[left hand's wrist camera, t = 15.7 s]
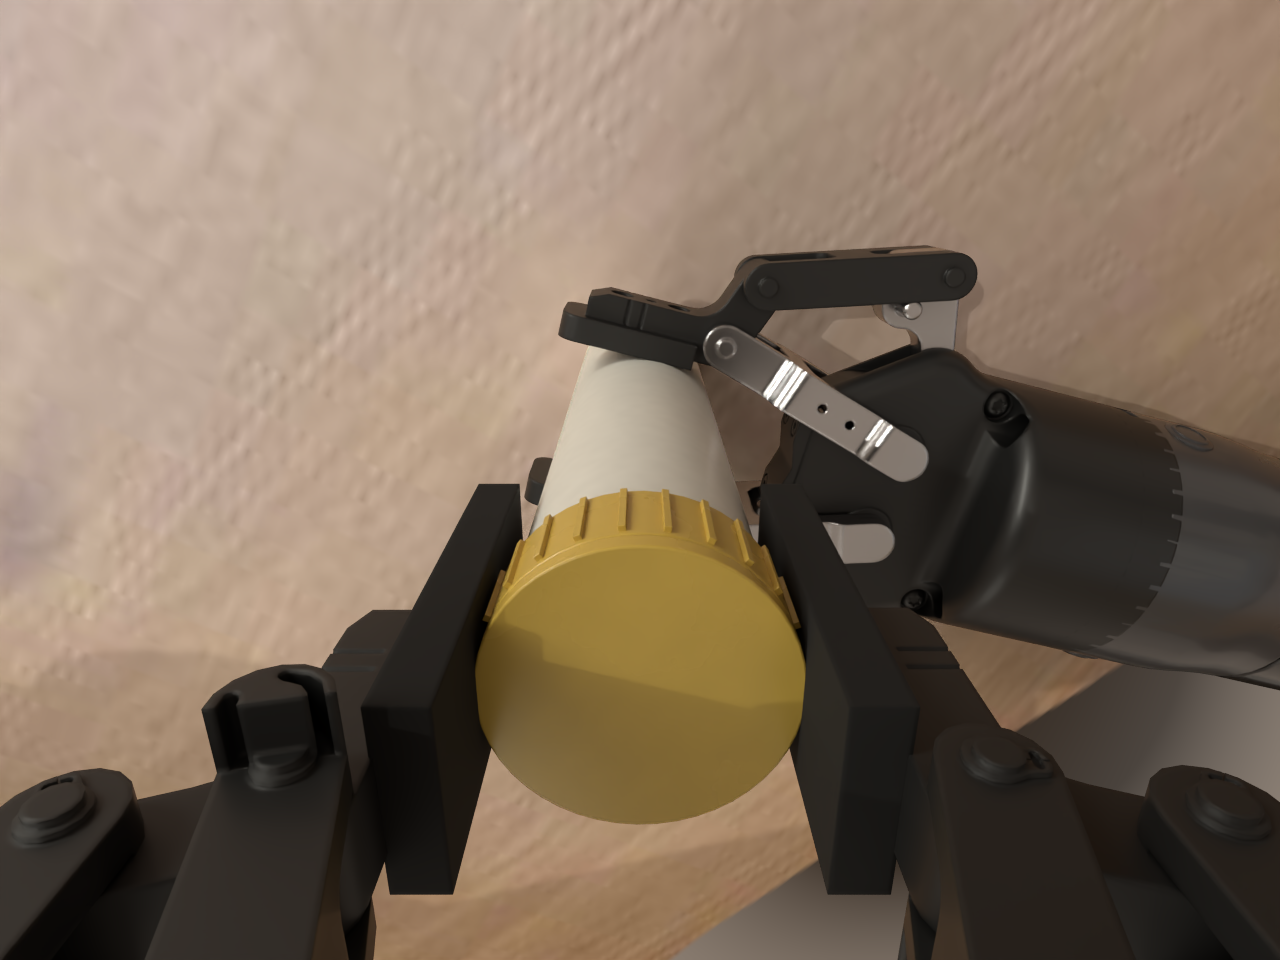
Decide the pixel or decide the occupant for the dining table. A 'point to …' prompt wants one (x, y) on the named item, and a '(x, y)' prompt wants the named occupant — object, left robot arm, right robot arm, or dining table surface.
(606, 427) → the cream cylinder
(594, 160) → the dining table surface
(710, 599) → the lid
